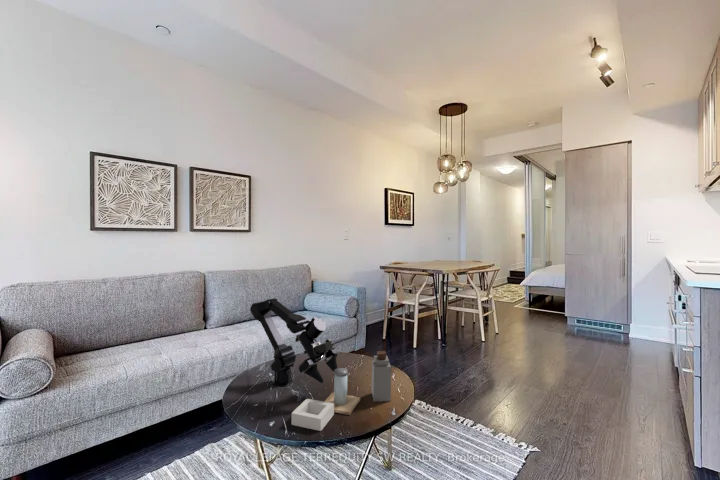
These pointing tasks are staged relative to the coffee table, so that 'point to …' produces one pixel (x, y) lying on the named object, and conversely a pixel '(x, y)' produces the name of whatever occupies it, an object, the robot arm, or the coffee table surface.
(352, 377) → the coffee table surface
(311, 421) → the box
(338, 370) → the cylinder
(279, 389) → the coffee table surface
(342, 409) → the board
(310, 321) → the robot arm
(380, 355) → the perfume bottle
